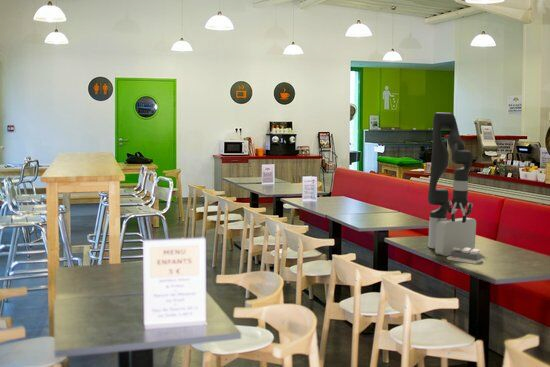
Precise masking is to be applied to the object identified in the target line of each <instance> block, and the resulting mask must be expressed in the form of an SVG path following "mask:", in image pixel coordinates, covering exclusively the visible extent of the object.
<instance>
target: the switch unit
mask: <svg viewBox="0 0 550 367" xmlns="http://www.w3.org/2000/svg"><path fill="white" fill-rule="evenodd" d="M446 260H449V261H455V262H459V263H460V262H462V263H466V264H472V265H473V264H474V265H477V264H478V263H481V262H483V260H484V259H483V258H482V253H479V252H478V253H477V254H470V252H468V253H464V252H462V251H459V250H454V251H452V252H451V255H448V256H447V257H446Z"/></svg>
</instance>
